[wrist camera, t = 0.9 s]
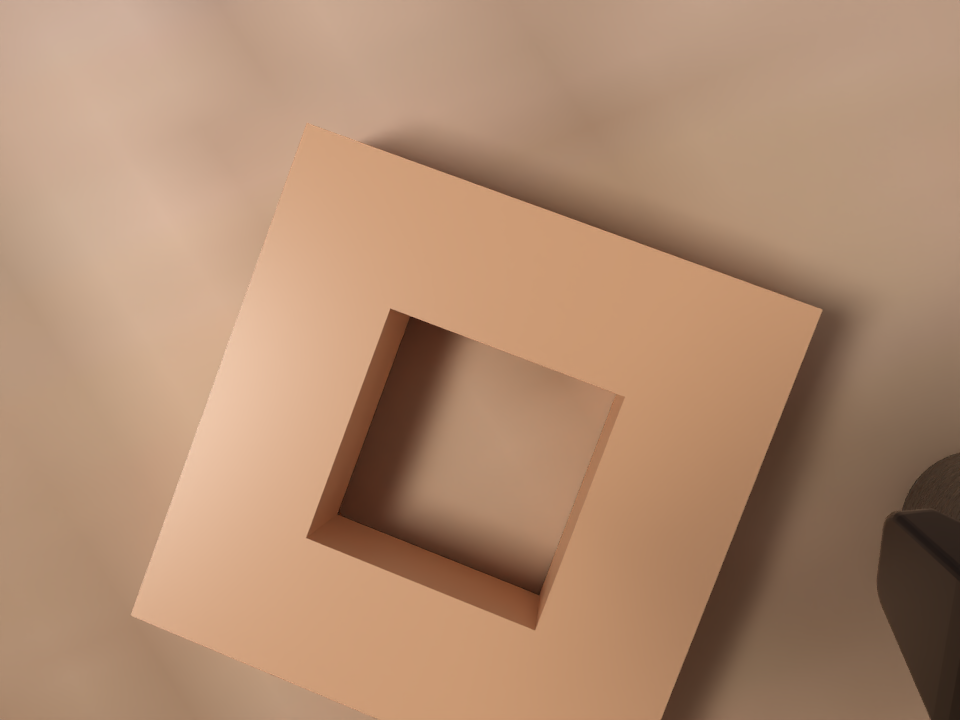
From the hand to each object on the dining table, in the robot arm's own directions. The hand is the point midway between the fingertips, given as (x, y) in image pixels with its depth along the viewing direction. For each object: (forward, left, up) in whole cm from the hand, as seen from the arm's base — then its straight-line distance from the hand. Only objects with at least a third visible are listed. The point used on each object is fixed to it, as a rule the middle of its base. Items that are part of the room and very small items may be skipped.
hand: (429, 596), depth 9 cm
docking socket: (-1, +1, -16) cm, 16 cm away
